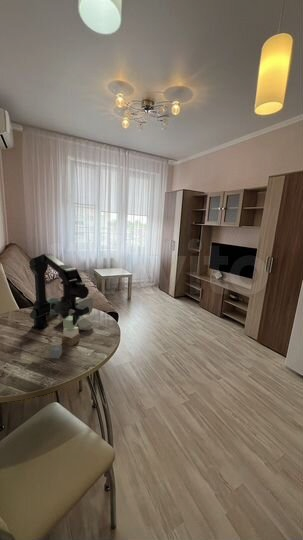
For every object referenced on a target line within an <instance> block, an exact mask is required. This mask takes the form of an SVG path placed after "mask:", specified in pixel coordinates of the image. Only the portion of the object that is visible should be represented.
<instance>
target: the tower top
mask: <svg viewBox="0 0 303 540" xmlns="http://www.w3.org/2000/svg"><path fill="white" fill-rule="evenodd" d="M78 333H79V326H75V327H74V328H72V329H68V328H63V333H62V334H63V335H64V336H65V337H69V338H73V337H74V336H76V335H77V334H78Z"/></svg>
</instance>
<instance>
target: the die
mask: <svg viewBox="0 0 303 540" xmlns="http://www.w3.org/2000/svg"><path fill="white" fill-rule="evenodd" d="M94 324H95V321H94V318H93V315H92V314H89V315H83V316H81V317H80V318H79V320H78V321H77V327H78V329H79V330H80V331H90V330H91V329H92V327H93V326H94Z"/></svg>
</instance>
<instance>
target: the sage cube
mask: <svg viewBox="0 0 303 540" xmlns="http://www.w3.org/2000/svg"><path fill="white" fill-rule="evenodd" d="M62 325H63V326H62V327H63V329H65V328H68V329H72V328H74V327H78V324H77V322H76V324H75V325H73V316H68V317H66V318H64V319H62Z"/></svg>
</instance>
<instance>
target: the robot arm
mask: <svg viewBox="0 0 303 540" xmlns="http://www.w3.org/2000/svg"><path fill="white" fill-rule="evenodd" d="M28 264H29V267H30V270H31V272H32V273H33V275H34V287H35V288H34V289H35V301H34V303H33V305H32V310H30V313H29V317H30V318H31V319H32V320H33V325H32V326H31V328H32V329H36V330H39V331H41V330H43V329H45V328H47V327H48V326H50V325H49V324H48V318H47V317H48V316H50V315H49V314H50V309H53V310H55V313H58V315H59V314H61V315H62V317H63V319H64V318H66V317H68V315H69V310H73V311H74V313H72V314H71V315H72V316H73V325H75V324H76V322H77V320H78V318H79V316H83V315H85V314H86V313H88V312H89V307H87V306H83V305H82V306H80V307H76V306H77V305H78V303H76V298H77V297H78V298H81V299H84V298H86V297H89V293H90V292H89V291H90V290H89V288H88V287H87V286H86V284H85V283H83V279H82V276H80V273H79V272H78V271H79V270H78V269H77V268H76V267H74V266H71V265H67V264H66V263H64V262H62V261H61V260H59V259H58V258H57V257H55V256H54V255H53V253H43V254H41V255H38V256H36V257H32V258H31V259H30V260H29V263H28ZM48 267H50V268H52V269H53V270H55V272H57V275H58V277H59V278H60V279H61V282H60V284H61V285H62V286H63V287H62V289H63V290H62V291H63V296H61V297H60V301H56V302H54V303H52V304H51V308H50V303H49V302H48V301H47V291H46V276H45V275H46V272H47V270H48ZM63 319H62V320H63Z"/></svg>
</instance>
